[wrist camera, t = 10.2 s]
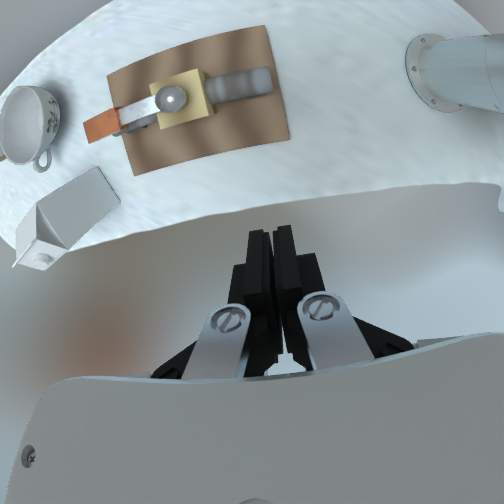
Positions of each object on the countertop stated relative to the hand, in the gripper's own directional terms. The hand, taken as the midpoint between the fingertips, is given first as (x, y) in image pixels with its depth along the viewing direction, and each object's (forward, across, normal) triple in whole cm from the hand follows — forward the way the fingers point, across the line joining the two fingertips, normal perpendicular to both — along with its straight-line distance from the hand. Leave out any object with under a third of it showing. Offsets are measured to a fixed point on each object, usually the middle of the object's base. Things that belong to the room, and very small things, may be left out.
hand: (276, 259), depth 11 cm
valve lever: (+18, +12, -9) cm, 24 cm away
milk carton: (+27, +28, 0) cm, 39 cm away
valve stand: (+27, +8, -9) cm, 30 cm away
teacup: (+27, +33, -15) cm, 45 cm away
